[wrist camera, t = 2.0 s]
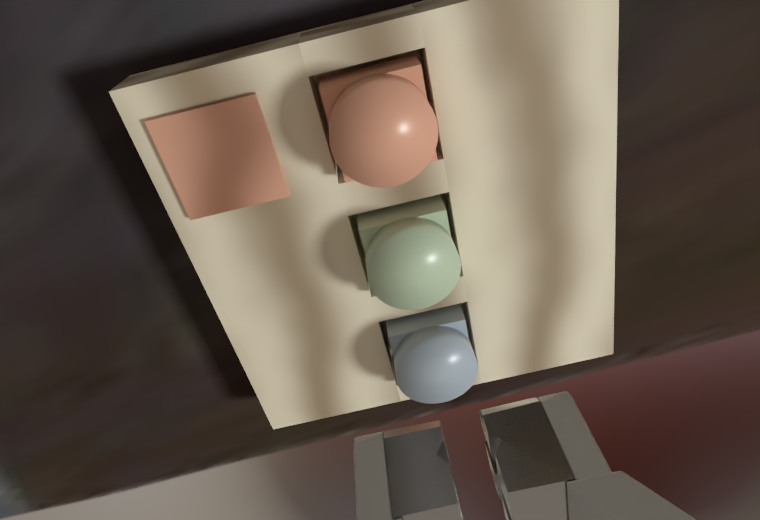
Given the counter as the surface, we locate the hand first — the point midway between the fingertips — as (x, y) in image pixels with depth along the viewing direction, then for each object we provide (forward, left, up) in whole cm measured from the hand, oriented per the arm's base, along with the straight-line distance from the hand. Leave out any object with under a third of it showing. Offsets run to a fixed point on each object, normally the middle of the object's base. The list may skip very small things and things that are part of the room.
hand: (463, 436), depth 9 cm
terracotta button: (0, 0, -19) cm, 19 cm away
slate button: (0, -14, -19) cm, 24 cm away
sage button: (0, -7, -19) cm, 20 cm away
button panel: (0, -7, -21) cm, 22 cm away
